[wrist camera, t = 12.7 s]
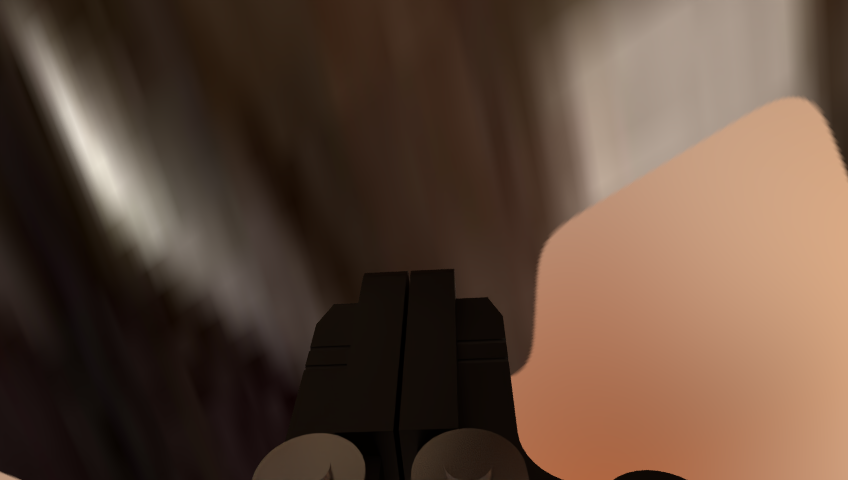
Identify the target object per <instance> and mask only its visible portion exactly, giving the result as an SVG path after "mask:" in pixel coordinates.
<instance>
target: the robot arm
mask: <svg viewBox="0 0 848 480" xmlns="http://www.w3.org/2000/svg"><path fill="white" fill-rule="evenodd" d="M310 347H311V351H309V354H308V358H307V362H306V365H305V366H306V370H304V373H303V377H302V380H301V384H300V388H299V392H298V395H297V399H296V403H295V407H294V410H293V414H292V418H291V422H290V425H289V429H288V433H287V437H286V440H285V442H284V443H283V444H281V445H279V446H278V447H276V448H275V449H274V450H272V451H271V452H270V453H269V454H268V455H267V456H266V457H265V458H264V459H263V460H262V462H261V463H260V464H259V466H258V467H257V469H256V471H255V473H254V476H253V478H252V480H561V479H559V478H557V477H555V476H553V475H551V474H549V473H547V472H546V471H544V470H543V469H541V468H540V467H539V466H537V465H536V464H535V463H534V462H533V461H532V460H531V459H530V458H529V457H528V455H527V454H526V452H525V451H524V449H523V448H522V445H521V443H520V441H519V437H518V433H517V424H516V417H515V408H514V401H513V392H512V385H511V377H510V369H509V362H508V353H507V345H506V338H505V330H504V322H503V316H502V315H501V313H500V312H499V311H498V310H497V308H496V307H495V306H494V305H493V304H492V302H491V301H490V300H489V299H488V297H484V298H462V299H456V288H455V272H454V269H440V270H419V271H411V275H410V278H409V273H408V271H401V272H380V273H365V274H364V276H363V281H362V287H361V292H360V297H359V303H354V304H334V305H333V306H332V307H331V308H330V310H329V311H328V312H327V313H326V314H325V315H324V316H323V317H322V319H321V320H320V321H319V322H318V323H317V324H316V328H315V331H314V335H313V339H312V343H311V346H310ZM614 480H686V479H684V478H682V477H679V476H676V475H673V474H670V473H666V472H661V471H653V470H642V471H634V472H629V473H626V474H624V475H621V476H619V477H617V478H615V479H614Z"/></svg>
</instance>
